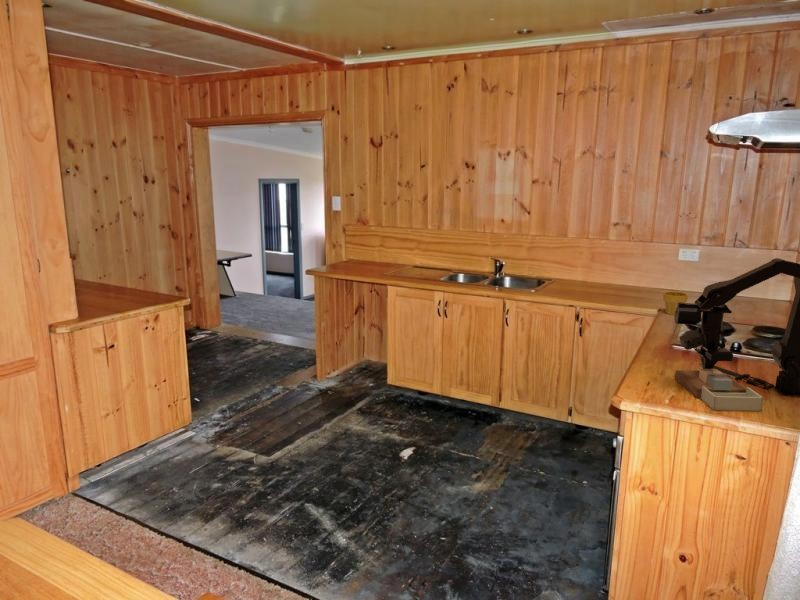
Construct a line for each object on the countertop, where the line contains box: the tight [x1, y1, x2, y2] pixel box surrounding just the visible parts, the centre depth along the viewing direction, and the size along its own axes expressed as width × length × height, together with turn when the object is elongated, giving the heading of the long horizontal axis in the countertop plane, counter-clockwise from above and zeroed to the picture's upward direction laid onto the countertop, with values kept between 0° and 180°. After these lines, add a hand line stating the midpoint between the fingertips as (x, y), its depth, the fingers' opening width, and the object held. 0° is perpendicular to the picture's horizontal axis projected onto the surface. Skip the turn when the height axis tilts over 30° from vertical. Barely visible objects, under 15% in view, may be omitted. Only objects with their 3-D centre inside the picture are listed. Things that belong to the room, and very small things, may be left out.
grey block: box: [706, 374, 732, 390], centre depth 165 cm, size 5×5×3 cm
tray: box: [700, 386, 764, 412], centre depth 159 cm, size 13×8×4 cm, turn 85°
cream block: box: [698, 368, 724, 383], centre depth 170 cm, size 5×5×3 cm
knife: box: [699, 362, 776, 390], centre depth 183 cm, size 25×6×1 cm, turn 18°
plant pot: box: [662, 291, 689, 316], centre depth 262 cm, size 10×10×10 cm
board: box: [674, 369, 746, 399], centre depth 171 cm, size 14×16×3 cm
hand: (705, 373), depth 173 cm, fingers closed
